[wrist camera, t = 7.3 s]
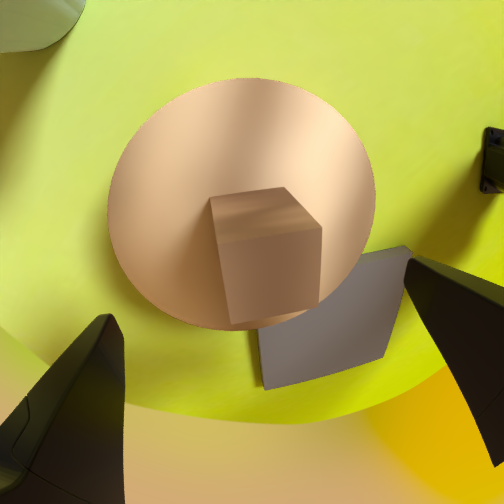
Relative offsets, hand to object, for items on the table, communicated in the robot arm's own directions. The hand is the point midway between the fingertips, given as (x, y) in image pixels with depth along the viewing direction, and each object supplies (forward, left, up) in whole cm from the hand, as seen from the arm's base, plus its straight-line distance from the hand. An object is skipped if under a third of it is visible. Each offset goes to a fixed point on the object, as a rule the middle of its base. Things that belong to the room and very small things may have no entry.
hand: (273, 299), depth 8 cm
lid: (0, 0, -6) cm, 6 cm away
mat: (-7, +13, -11) cm, 18 cm away
